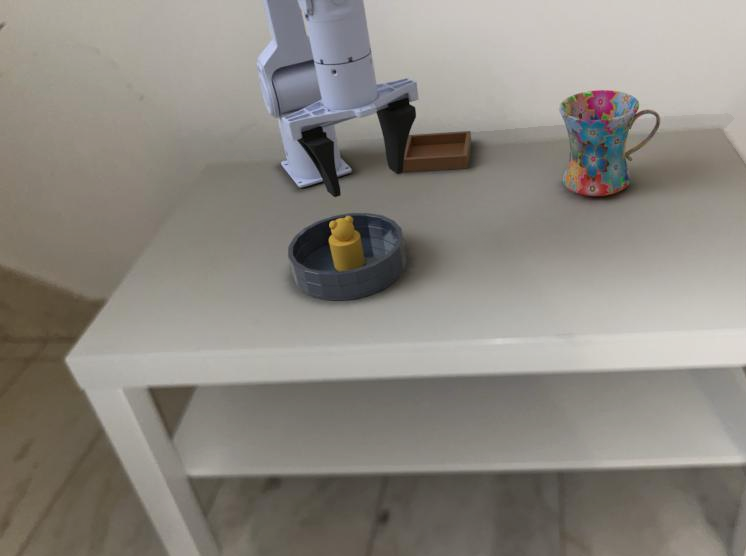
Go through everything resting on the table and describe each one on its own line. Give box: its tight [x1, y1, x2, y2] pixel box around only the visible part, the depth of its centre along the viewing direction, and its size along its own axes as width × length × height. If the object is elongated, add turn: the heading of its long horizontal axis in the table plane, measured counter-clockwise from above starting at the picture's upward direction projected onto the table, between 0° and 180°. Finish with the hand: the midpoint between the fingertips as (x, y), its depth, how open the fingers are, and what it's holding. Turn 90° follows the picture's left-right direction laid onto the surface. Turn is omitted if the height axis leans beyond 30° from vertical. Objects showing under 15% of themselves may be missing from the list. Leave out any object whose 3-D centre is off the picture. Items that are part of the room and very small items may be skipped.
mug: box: [558, 89, 661, 197], centre depth 95 cm, size 12×9×11 cm
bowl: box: [287, 212, 407, 302], centre depth 88 cm, size 13×13×4 cm
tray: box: [403, 130, 472, 173], centre depth 109 cm, size 9×8×2 cm
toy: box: [329, 216, 365, 271], centre depth 87 cm, size 4×4×6 cm
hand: (365, 181), depth 83 cm, fingers open, 7 cm apart
